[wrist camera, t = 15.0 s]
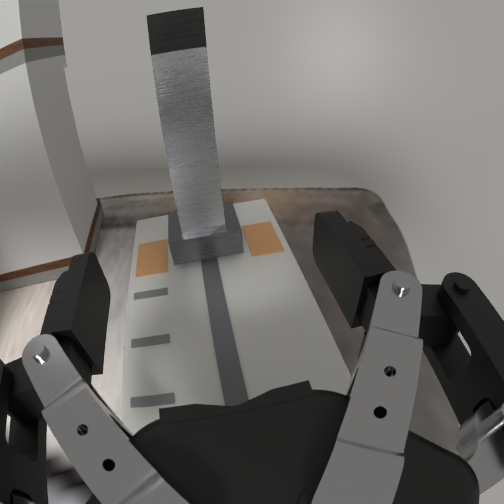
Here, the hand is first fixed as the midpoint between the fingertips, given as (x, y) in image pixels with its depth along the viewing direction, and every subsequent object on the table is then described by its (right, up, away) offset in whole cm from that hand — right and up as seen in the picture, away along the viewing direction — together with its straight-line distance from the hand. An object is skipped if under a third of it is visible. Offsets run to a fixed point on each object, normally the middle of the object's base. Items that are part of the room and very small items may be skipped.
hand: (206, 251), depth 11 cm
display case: (-20, 0, +19) cm, 28 cm away
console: (0, -6, +9) cm, 11 cm away
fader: (-2, +1, +13) cm, 13 cm away
